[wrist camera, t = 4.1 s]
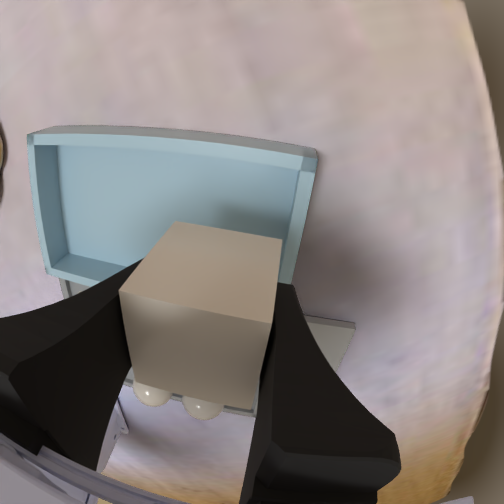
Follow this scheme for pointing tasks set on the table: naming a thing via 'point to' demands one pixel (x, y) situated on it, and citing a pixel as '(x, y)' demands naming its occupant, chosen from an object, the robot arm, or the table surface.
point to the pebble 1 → (150, 394)
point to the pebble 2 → (201, 408)
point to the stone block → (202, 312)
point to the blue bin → (159, 193)
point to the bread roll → (1, 152)
